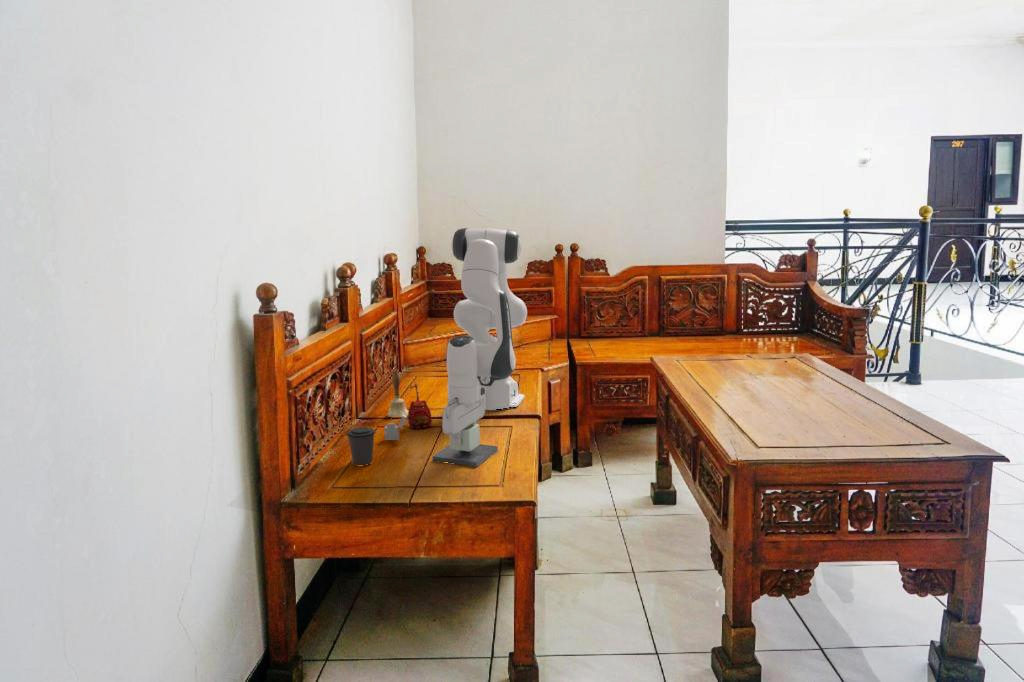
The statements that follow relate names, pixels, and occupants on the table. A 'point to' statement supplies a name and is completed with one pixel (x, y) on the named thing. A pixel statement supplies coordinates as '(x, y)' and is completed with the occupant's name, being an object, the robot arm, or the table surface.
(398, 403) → the hand bell
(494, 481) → the table surface
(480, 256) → the robot arm
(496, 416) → the table surface
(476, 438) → the sleeve
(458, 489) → the table surface
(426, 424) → the red clay folk toy
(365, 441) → the coffee cup
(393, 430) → the lighter
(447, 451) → the plate
